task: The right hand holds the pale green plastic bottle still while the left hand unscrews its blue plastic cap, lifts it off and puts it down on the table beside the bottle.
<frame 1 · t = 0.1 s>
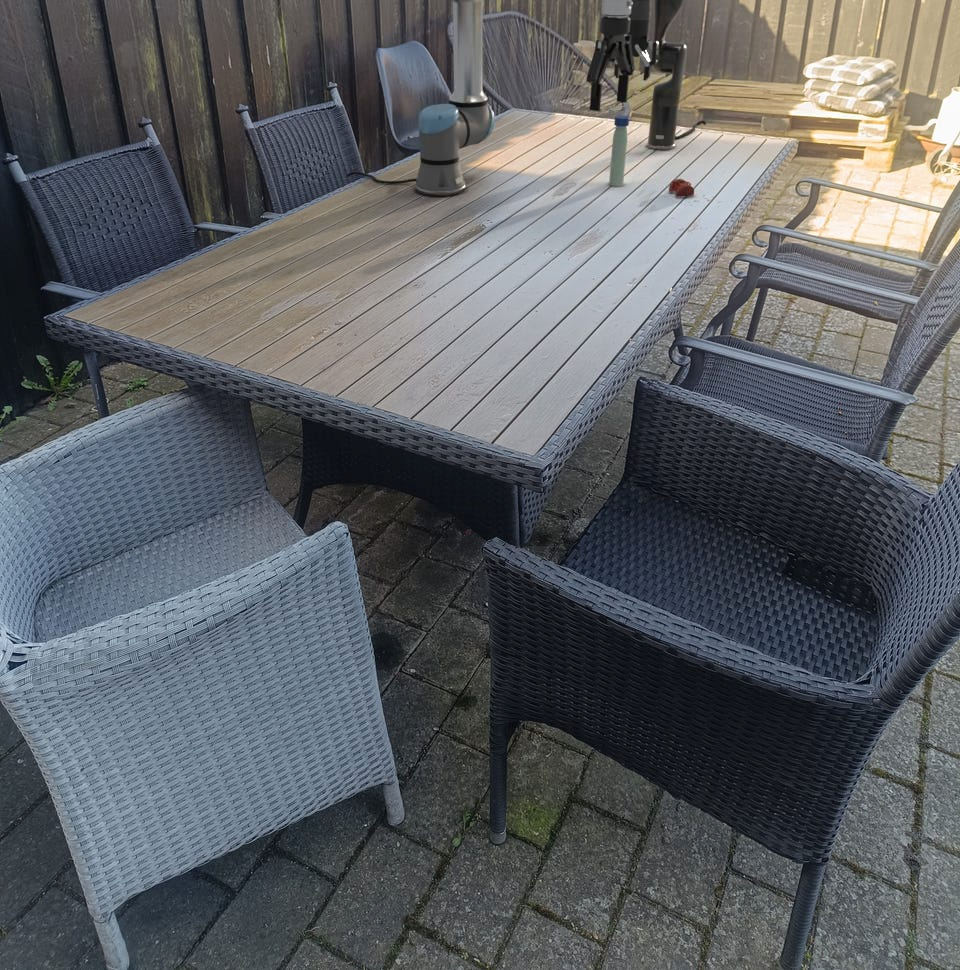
left hand: (608, 106, 226), 28 cm above the table, tool pointing down, fingers open, 13 cm apart
right hand: (631, 79, 250), 29 cm above the table, tool pointing down, fingers open, 8 cm apart
bottle: (616, 184, 263), on the table
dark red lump: (680, 194, 255), on the table
cap: (622, 118, 252), point 19 cm above the table, screwed on, not yet turned
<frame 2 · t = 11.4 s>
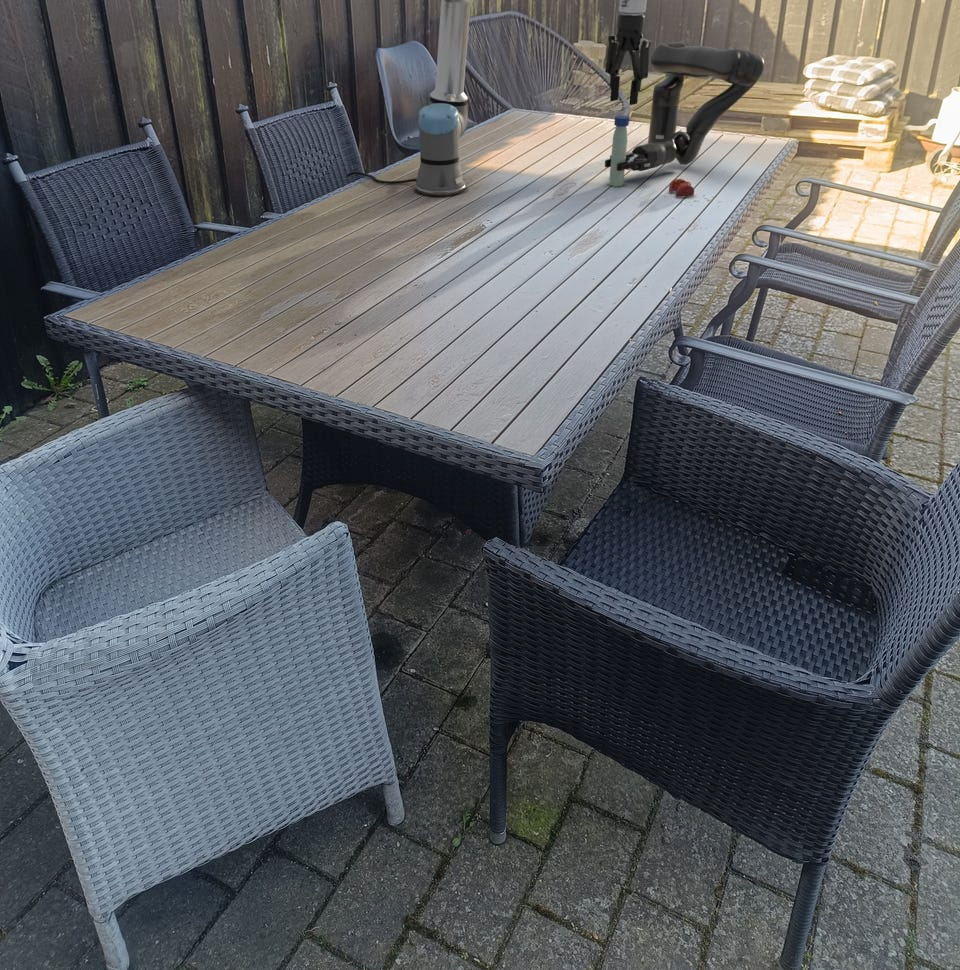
left hand: (623, 102, 249), 24 cm above the table, tool pointing down, fingers open, 7 cm apart
right hand: (611, 165, 258), 6 cm above the table, tool horizontal, fingers closed on bottle, 4 cm apart
bottle: (616, 184, 263), on the table, touching right hand
everything else where it was.
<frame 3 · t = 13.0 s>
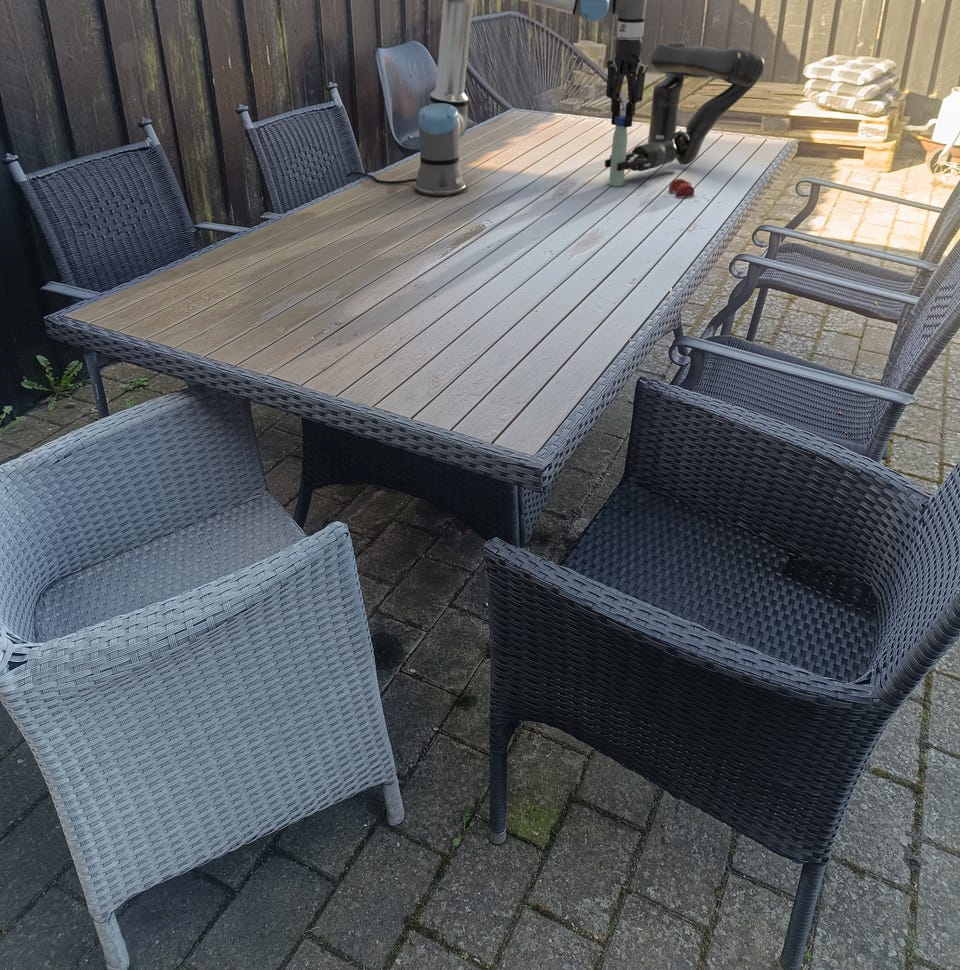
left hand: (621, 125, 253), 17 cm above the table, tool pointing down, fingers closed on cap, 4 cm apart
right hand: (611, 165, 258), 6 cm above the table, tool horizontal, fingers closed on bottle, 4 cm apart
bottle: (616, 184, 263), on the table, touching right hand
cap: (622, 118, 252), point 19 cm above the table, screwed on, not yet turned, touching left hand
everything else where it was.
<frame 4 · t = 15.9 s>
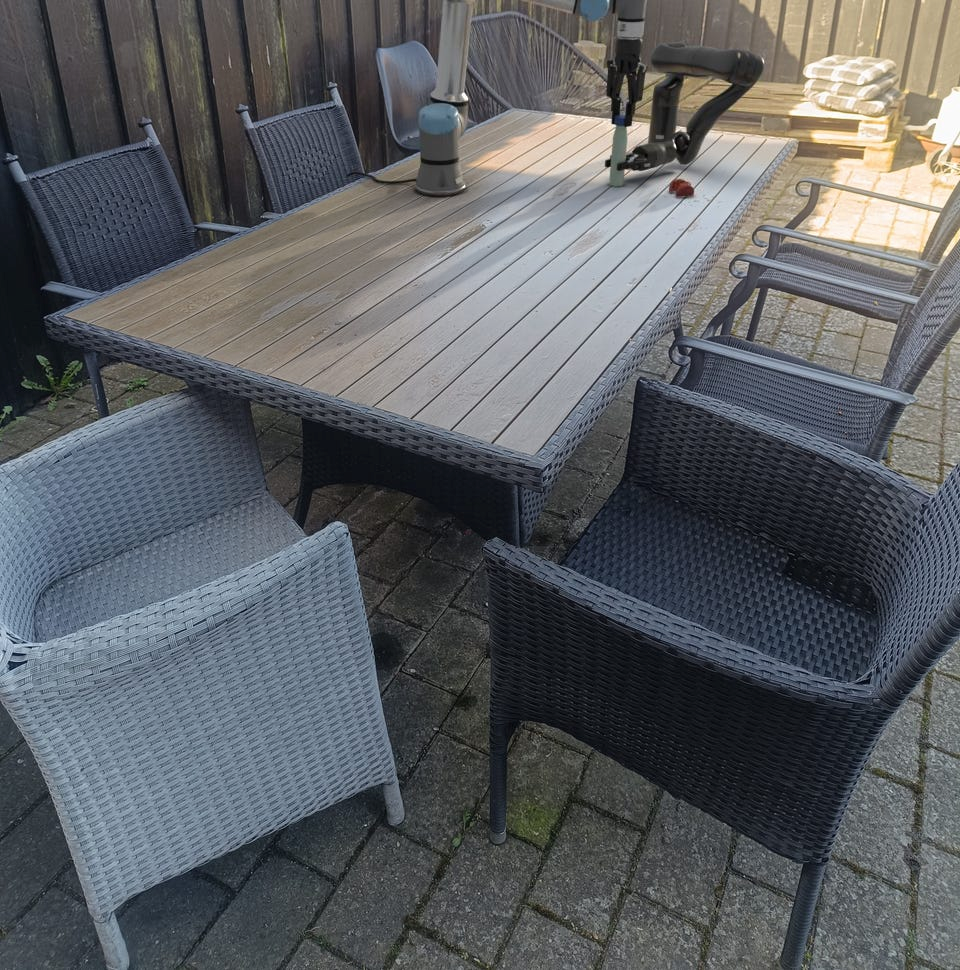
left hand: (621, 124, 253), 18 cm above the table, tool pointing down, fingers closed on cap, 4 cm apart
right hand: (611, 165, 258), 6 cm above the table, tool horizontal, fingers closed on bottle, 4 cm apart
bottle: (616, 184, 263), on the table, touching right hand
cap: (622, 117, 252), point 20 cm above the table, turned 97° so far, risen 0.1 cm, still on its thread, touching left hand
everything else where it was.
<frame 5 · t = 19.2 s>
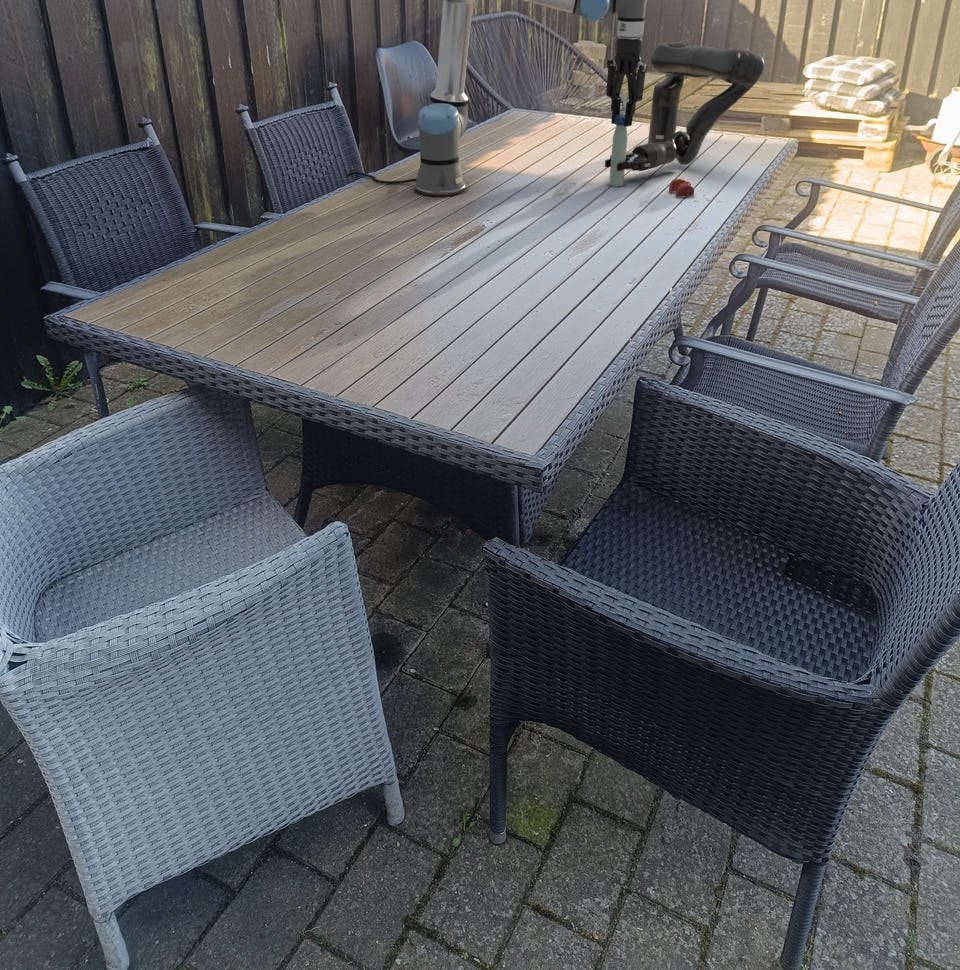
left hand: (621, 124, 253), 18 cm above the table, tool pointing down, fingers closed on cap, 4 cm apart
right hand: (611, 165, 258), 6 cm above the table, tool horizontal, fingers closed on bottle, 4 cm apart
bottle: (616, 184, 263), on the table, touching right hand
cap: (622, 117, 252), point 20 cm above the table, turned 194° so far, risen 0.2 cm, still on its thread, touching left hand
everything else where it was.
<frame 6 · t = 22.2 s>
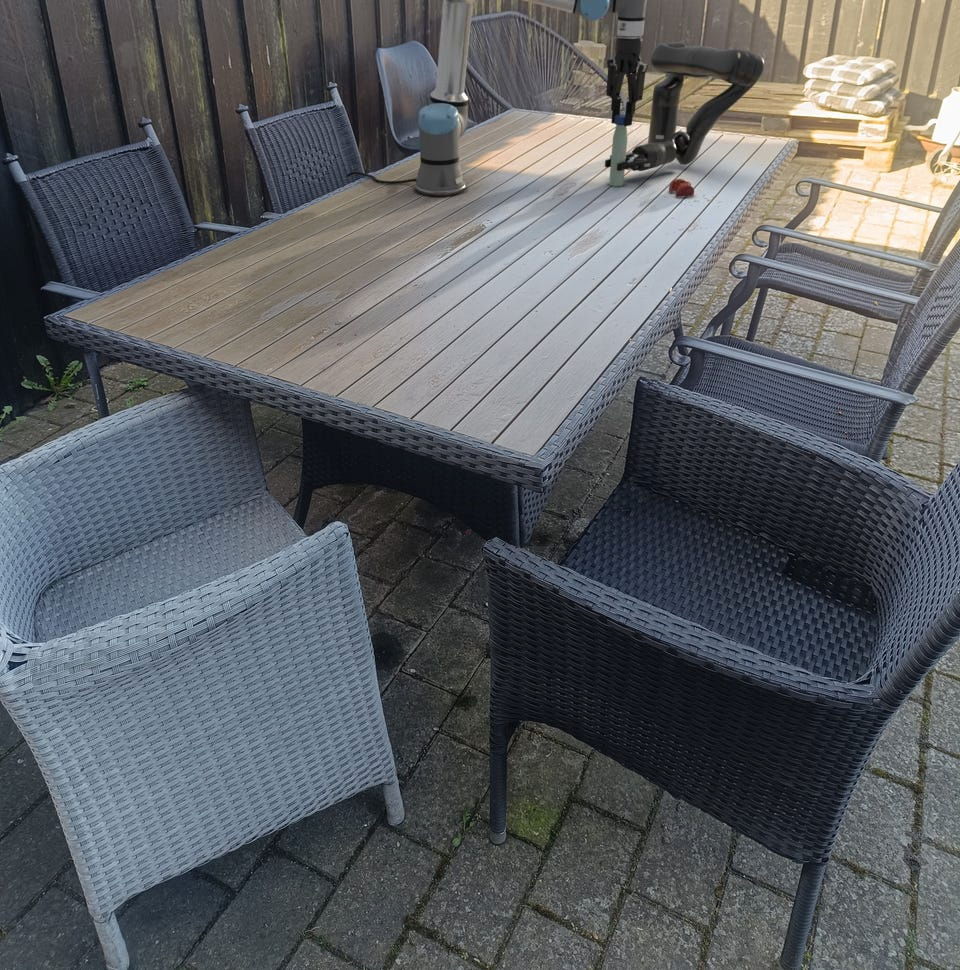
left hand: (621, 123, 253), 18 cm above the table, tool pointing down, fingers closed on cap, 4 cm apart
right hand: (611, 165, 258), 6 cm above the table, tool horizontal, fingers closed on bottle, 4 cm apart
bottle: (616, 184, 263), on the table, touching right hand
cap: (622, 116, 252), point 20 cm above the table, turned 291° so far, risen 0.3 cm, still on its thread, touching left hand
everything else where it was.
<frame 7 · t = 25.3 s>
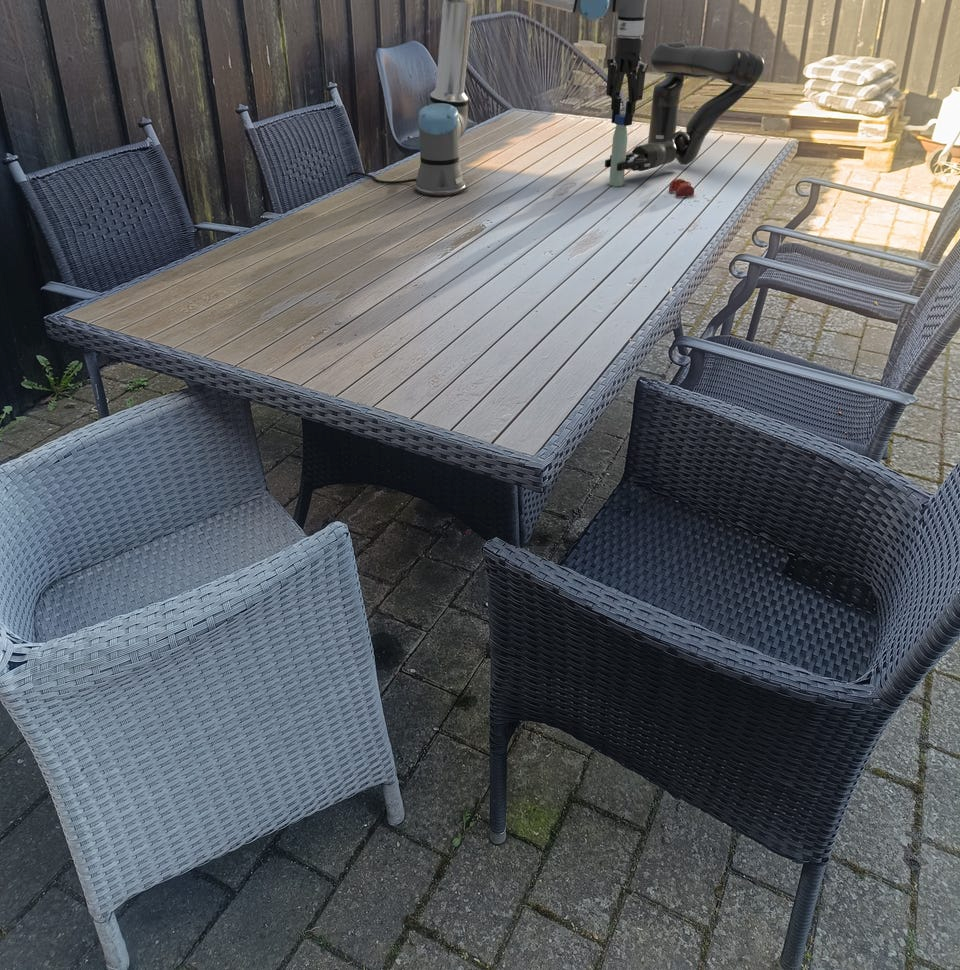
left hand: (621, 123, 253), 18 cm above the table, tool pointing down, fingers closed on cap, 4 cm apart
right hand: (611, 165, 258), 6 cm above the table, tool horizontal, fingers closed on bottle, 4 cm apart
bottle: (616, 184, 263), on the table, touching right hand
cap: (622, 116, 252), point 20 cm above the table, turned 388° so far, risen 0.4 cm, still on its thread, touching left hand
everything else where it was.
when the left hand's fingers open (1 cm above the table, at t = 31.3 s): cap drops 1 cm, point 2 cm above the table.
when the right hand's fingers open (6 cm above the table, at t = 32.5 s): bottle stays where it is, on the table.
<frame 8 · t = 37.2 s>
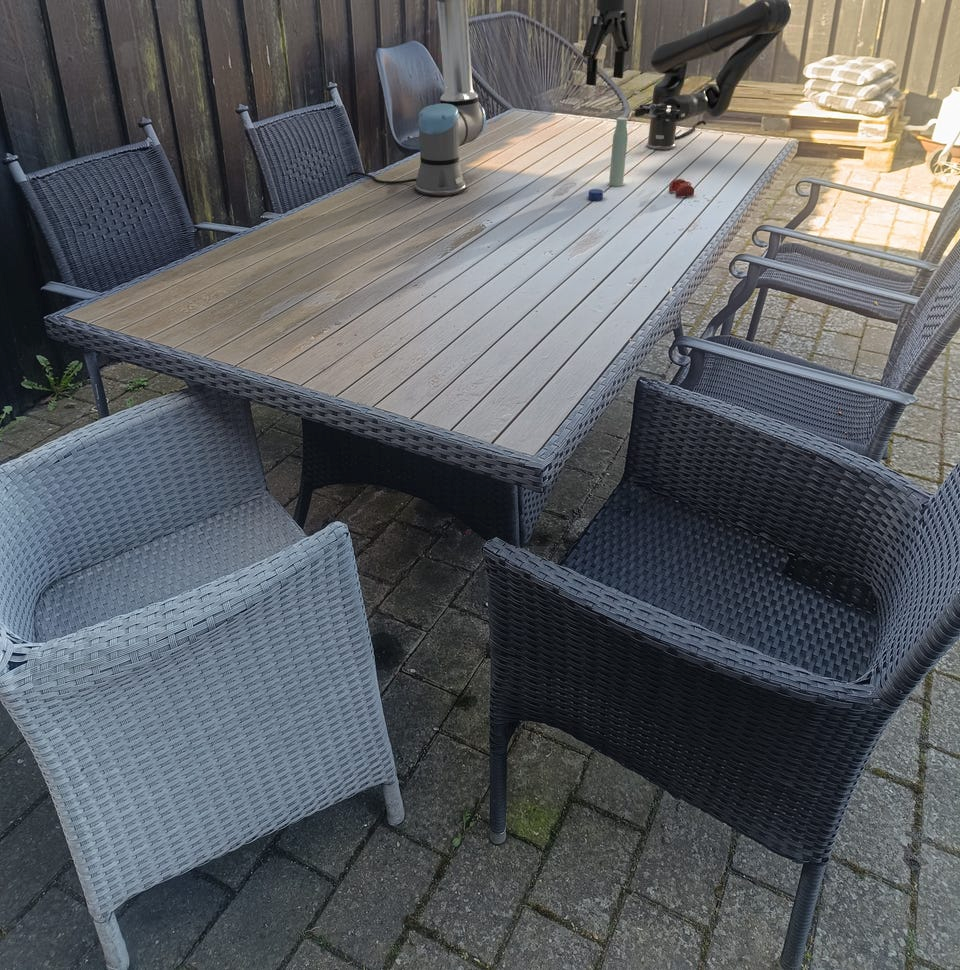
left hand: (604, 81, 233), 32 cm above the table, tool pointing down, fingers open, 13 cm apart
right hand: (646, 115, 258), 19 cm above the table, tool horizontal, fingers open, 8 cm apart
bottle: (616, 184, 263), on the table
cap: (596, 192, 250), point 2 cm above the table, off its thread
everything else where it was.
at the end: cap came off its thread; cap point 2.0 cm above the table; the left hand is holding nothing; the right hand is holding nothing; bottle tilted 0°; bottle moved 0.0 cm from its start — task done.
